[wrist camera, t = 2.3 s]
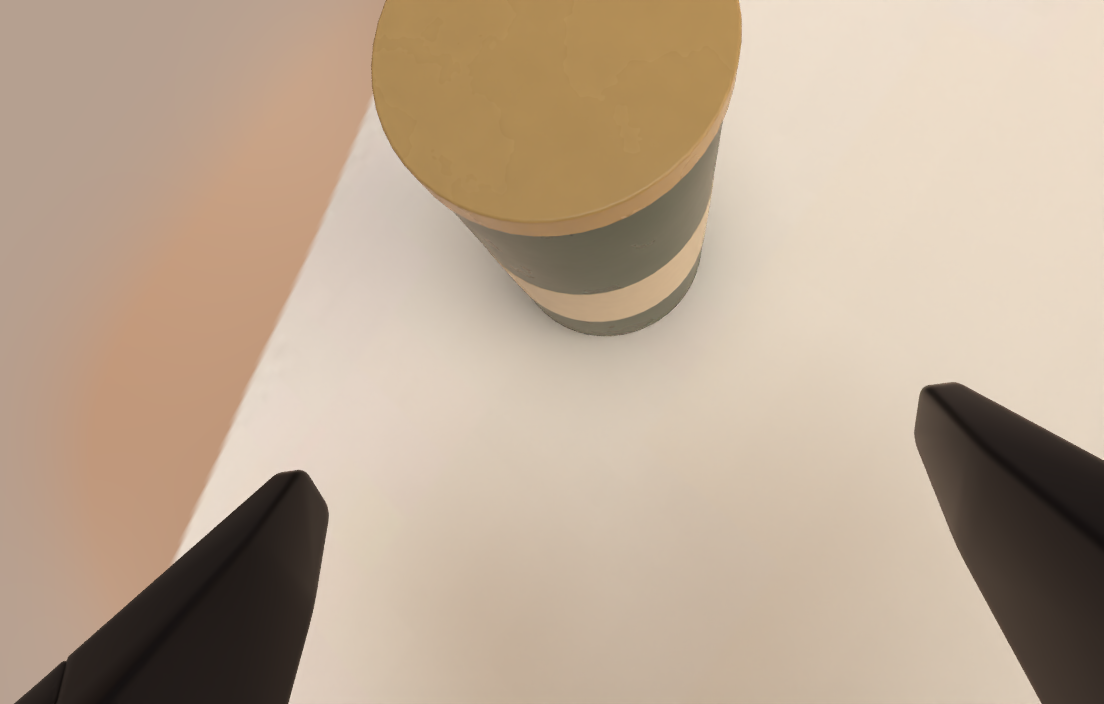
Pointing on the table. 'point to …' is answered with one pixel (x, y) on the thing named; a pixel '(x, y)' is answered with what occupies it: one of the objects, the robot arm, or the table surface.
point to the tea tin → (567, 138)
